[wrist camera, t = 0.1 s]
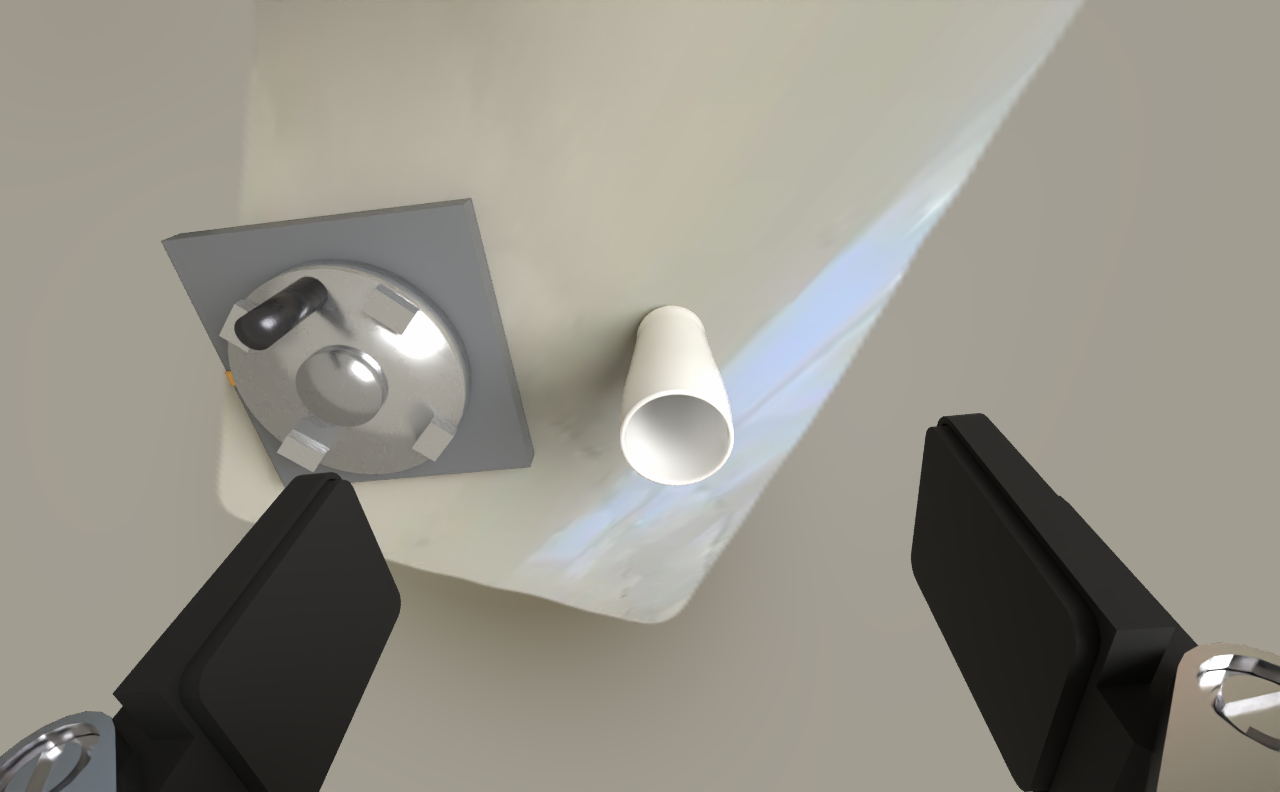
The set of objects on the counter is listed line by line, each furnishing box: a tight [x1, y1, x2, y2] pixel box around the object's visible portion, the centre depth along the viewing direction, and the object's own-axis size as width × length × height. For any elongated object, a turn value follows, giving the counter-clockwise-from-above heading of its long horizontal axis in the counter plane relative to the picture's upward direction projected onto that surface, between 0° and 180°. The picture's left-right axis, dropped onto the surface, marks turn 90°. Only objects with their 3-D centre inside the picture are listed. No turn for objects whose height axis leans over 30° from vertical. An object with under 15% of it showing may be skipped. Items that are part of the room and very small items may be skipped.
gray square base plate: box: [161, 198, 534, 488], centre depth 49 cm, size 22×22×2 cm
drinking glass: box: [619, 306, 734, 486], centre depth 42 cm, size 7×7×15 cm
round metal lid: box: [219, 259, 472, 474], centre depth 44 cm, size 17×17×10 cm
